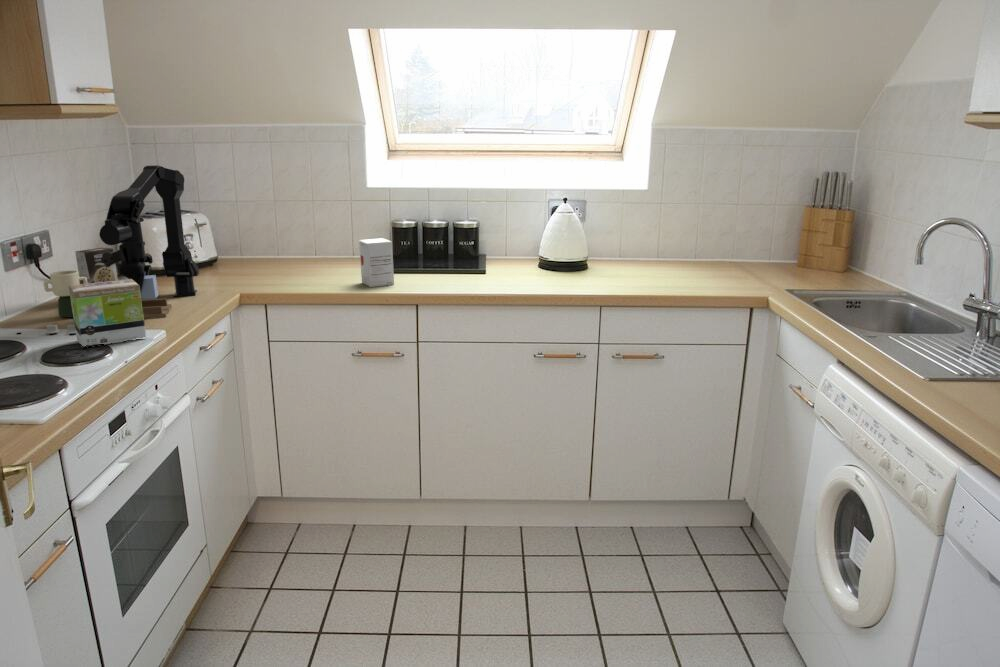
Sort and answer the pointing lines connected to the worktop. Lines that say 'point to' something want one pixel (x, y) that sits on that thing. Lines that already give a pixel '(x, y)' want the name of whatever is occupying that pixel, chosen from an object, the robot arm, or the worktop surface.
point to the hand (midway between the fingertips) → (140, 292)
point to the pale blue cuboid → (148, 287)
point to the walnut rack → (155, 308)
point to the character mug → (63, 289)
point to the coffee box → (95, 266)
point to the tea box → (107, 312)
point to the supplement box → (376, 262)
